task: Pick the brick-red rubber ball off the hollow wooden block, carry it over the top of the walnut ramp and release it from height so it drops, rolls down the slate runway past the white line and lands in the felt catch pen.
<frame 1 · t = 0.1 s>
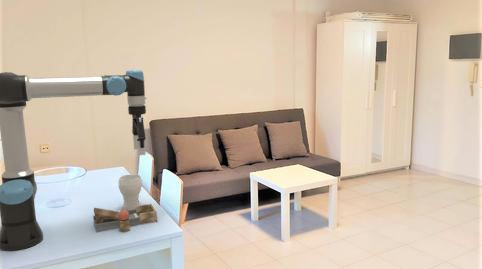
hand: (139, 152, 181), 28 cm above the table, fingers open, 13 cm apart
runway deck: (117, 223, 171), on the table
hollow wooden block: (124, 229, 165), on the table
catch pen: (146, 218, 176), on the table
cup: (131, 207, 191), on the table
ramp: (111, 221, 170), resting on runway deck
ball: (123, 214, 163), point 7 cm above the table, touching hollow wooden block
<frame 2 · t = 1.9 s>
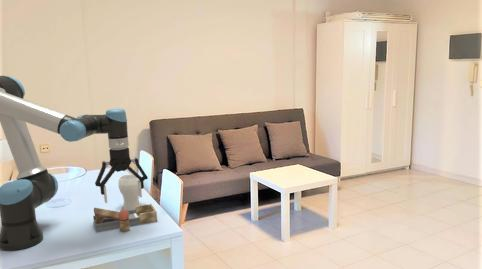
hand: (123, 199, 162), 13 cm above the table, fingers open, 13 cm apart
nothing on the table moved.
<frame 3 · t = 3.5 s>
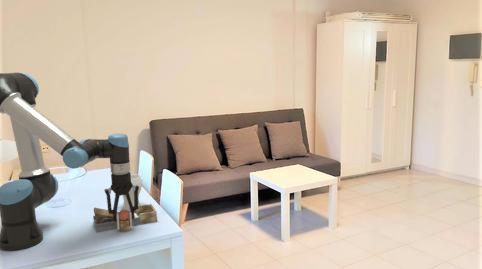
hand: (124, 227, 164), 1 cm above the table, fingers closed on ball, 4 cm apart
ball: (123, 214, 163), point 7 cm above the table, touching gripper, hollow wooden block
everything else where it was.
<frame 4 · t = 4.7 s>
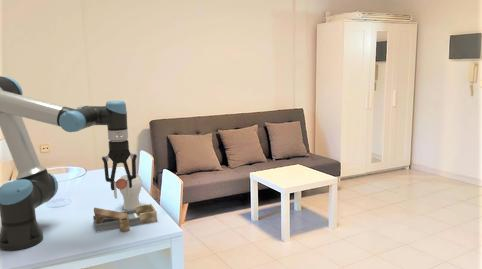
hand: (122, 196, 162), 14 cm above the table, fingers closed on ball, 4 cm apart
ball: (121, 184, 161), point 20 cm above the table, touching gripper
everything else where it was.
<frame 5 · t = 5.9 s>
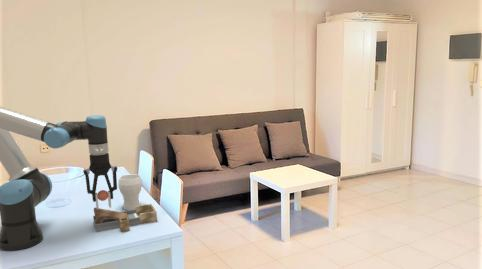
hand: (103, 207, 168), 8 cm above the table, fingers closed on ball, 4 cm apart
ball: (102, 195, 167), point 13 cm above the table, touching gripper
everything else where it was.
when the fingers open (8 cm above the table, at t = 6.1 s): ball drops 10 cm and tips over, resting on catch pen.
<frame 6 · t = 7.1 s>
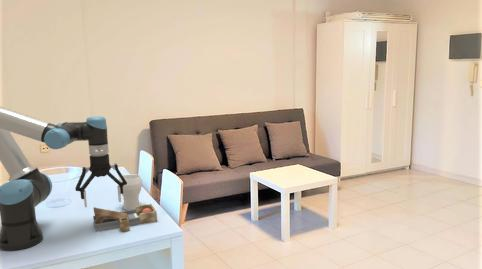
hand: (103, 203, 168), 10 cm above the table, fingers open, 13 cm apart
ball: (147, 213, 176), point 2 cm above the table, tilted 141°, touching catch pen
everything else where it was.
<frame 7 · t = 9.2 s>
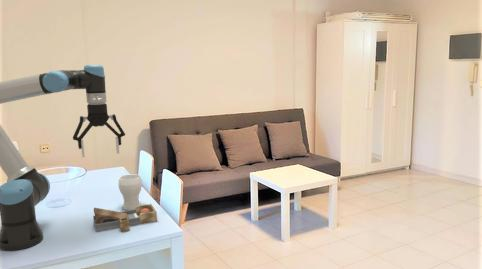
hand: (100, 154, 166), 30 cm above the table, fingers open, 13 cm apart
ball: (145, 213, 176), point 2 cm above the table, tilted 121°, touching catch pen
everything else where it was.
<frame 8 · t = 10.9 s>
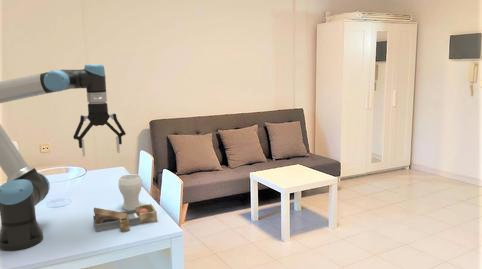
hand: (101, 154, 166), 31 cm above the table, fingers open, 13 cm apart
ball: (143, 213, 176), point 2 cm above the table, tilted 104°, touching catch pen
everything else where it was.
at the end: ball inside the target area (1.4 cm from its centre), point 2.5 cm above the table; the gripper is holding nothing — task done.
